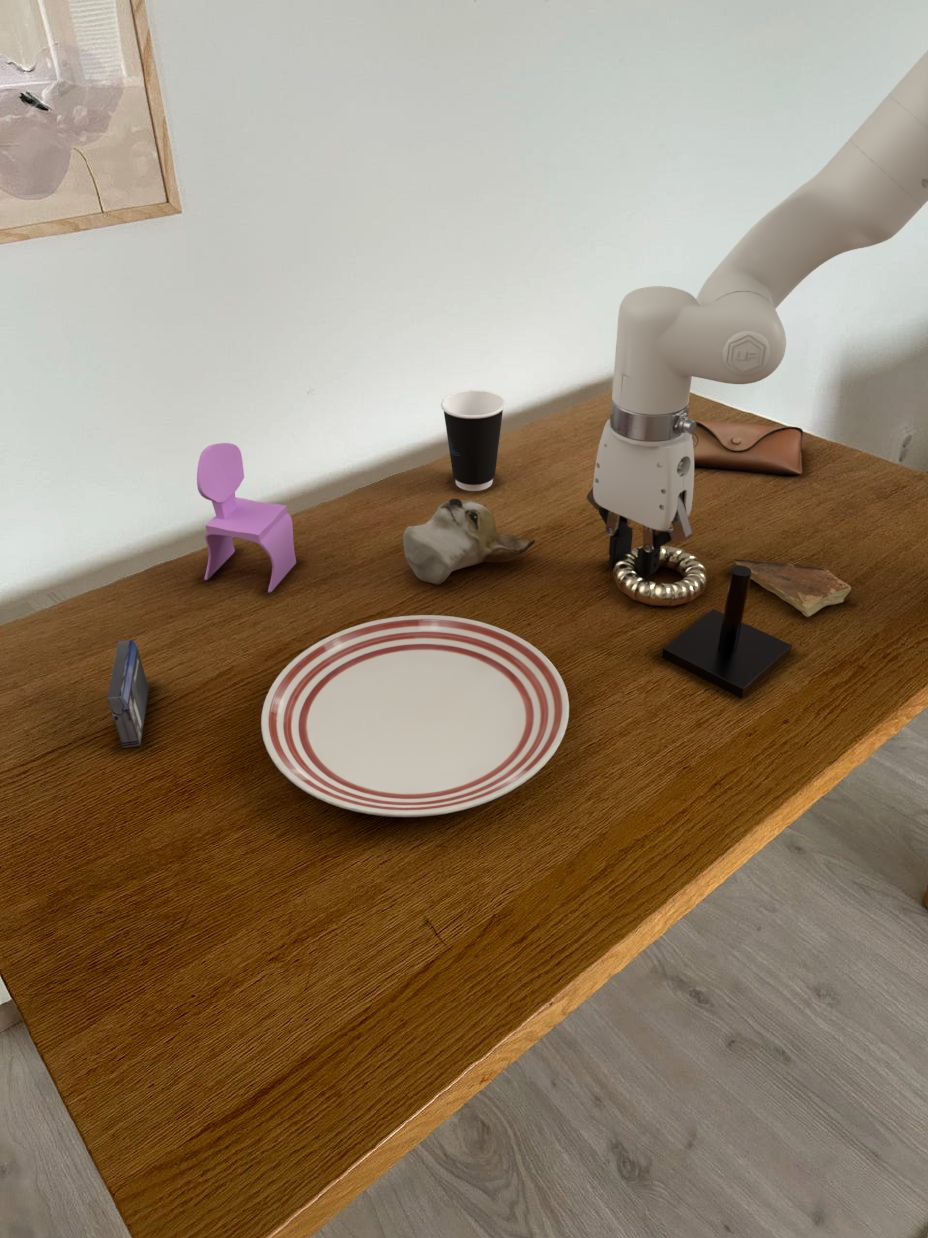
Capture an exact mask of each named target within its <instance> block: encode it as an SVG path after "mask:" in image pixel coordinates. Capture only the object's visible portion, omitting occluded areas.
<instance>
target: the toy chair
mask: <svg viewBox="0 0 928 1238" xmlns="http://www.w3.org/2000/svg"><path fill="white" fill-rule="evenodd" d="M244 479H245V472H244V462H243V455H242V451H241V450H240V448H239V446H237V445H236V444H234V443H230V442H218V443H214V444H211V445H208V446H207V447H205V448H204V449H203V450H202V451H201V452H200V455H199V459H198V463H197V470H196V487H197V491H198V494H199V495H200V496H201V497H202V498H204V499H206V500H208V501H210V502H211V504H212V508H213V510H214V513H215V516H214V517H212V519H211V520H209V521H208V523H206V524H205V530H206V533H205V534H204V540H205V543H206V545H207V550H208V559H207V566H206V569H205V574H204V578H203V580H204V581H208V580H210V578H211V577H212V576H213V575H214V574H215V573H216V572H217V571H218V570H219V569H220V568H221V567H222V566H223V565H224V564H225V563H226V562H227V560H229V558H231V556H232V555H234V553H235V551H236V550H235V546H234V542H233V541H234V540H233V537H235V538H238V539H243V540H245V541H249V542H252V543H253V542H254V543H256V544H258V545H259V546H260V547H261V548H262V549H263V550H264V552H265V553H266V554H267V555H268V557H269V559H270V561H271V577H270V582H269V585H268V589H267V593H272V592H273V591H274V590H275V588H276V587H277V586H278V585H279V584H280V583H281V582H282V580H283V579H284V578H285V577H286V576H287V574H288V573H289V572H290V571H291V570H292V568H294V566H295V565H296V564H297V559H296V554H295V544H294V543H295V542H294V527H293V526H294V525H293V519H292V516H291V515H290V513H288V507H287V505H286V504H285V505H284V504H279V503H269V502H262V501H258V500H257V501H256V500H252V499H247V498H243V497H236V492H237V490H238V489H239V487H240V486H241V484H242V482H243V480H244Z"/></svg>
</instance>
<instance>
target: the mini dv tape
mask: <svg viewBox="0 0 928 1238" xmlns="http://www.w3.org/2000/svg"><path fill="white" fill-rule="evenodd" d="M147 680H148V679H147V677H146V673H145V669H144V666H143V663H142V660H141V655H140V652H139V648H138V645H137V643H136V642H135V641H134V640H133V639H127V640H118V641H117V646H116V651H115V656H114V662H113V667H112V673H111V678H110V683H109V688H108V694H107V701H108V705H109V708H110V711H111V714H112V718H113V721H114V724H115V727H116V732H117V734H118V738H119V741H120V744H121V746H122V749H127V748H135V747H141V745H142V744H141V743H142V737H143V732H144V731H143V730H144V724H145V717H146V711H147V704H148V697H149V689H150V688H149V683H148V681H147Z"/></svg>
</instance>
